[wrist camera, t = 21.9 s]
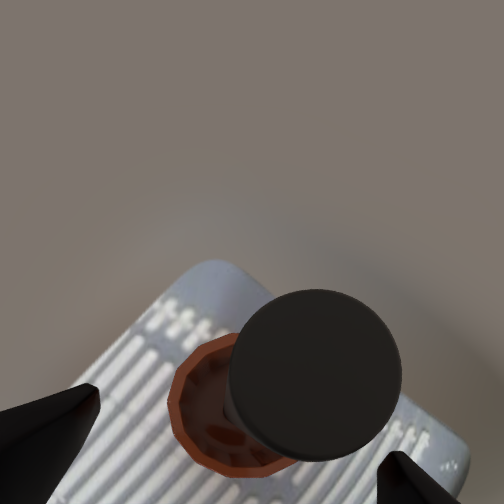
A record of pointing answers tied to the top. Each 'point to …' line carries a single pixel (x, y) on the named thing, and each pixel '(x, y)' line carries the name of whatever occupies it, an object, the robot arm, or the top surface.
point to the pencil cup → (215, 417)
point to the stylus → (313, 376)
